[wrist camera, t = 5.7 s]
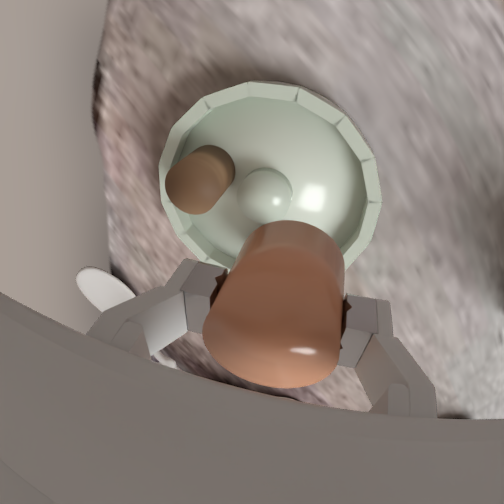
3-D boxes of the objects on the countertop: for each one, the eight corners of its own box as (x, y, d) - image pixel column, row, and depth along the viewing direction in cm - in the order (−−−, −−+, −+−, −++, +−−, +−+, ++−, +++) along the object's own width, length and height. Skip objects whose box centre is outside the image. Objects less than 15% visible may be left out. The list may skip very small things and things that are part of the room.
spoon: (225, 407, 49) (218, 423, 47) (77, 272, 39) (62, 288, 36) (266, 401, 45) (261, 420, 42) (104, 245, 34) (86, 263, 32)
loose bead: (242, 210, 11) (199, 282, 8) (356, 233, 10) (358, 317, 7) (237, 294, 13) (205, 370, 10) (331, 314, 13) (320, 397, 10)
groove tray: (172, 76, 22) (156, 79, 20) (397, 104, 19) (404, 109, 17) (178, 251, 32) (167, 265, 30) (349, 287, 29) (348, 306, 27)
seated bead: (187, 142, 24) (163, 158, 21) (236, 147, 23) (218, 165, 20) (188, 187, 26) (166, 209, 23) (234, 195, 25) (217, 219, 22)
